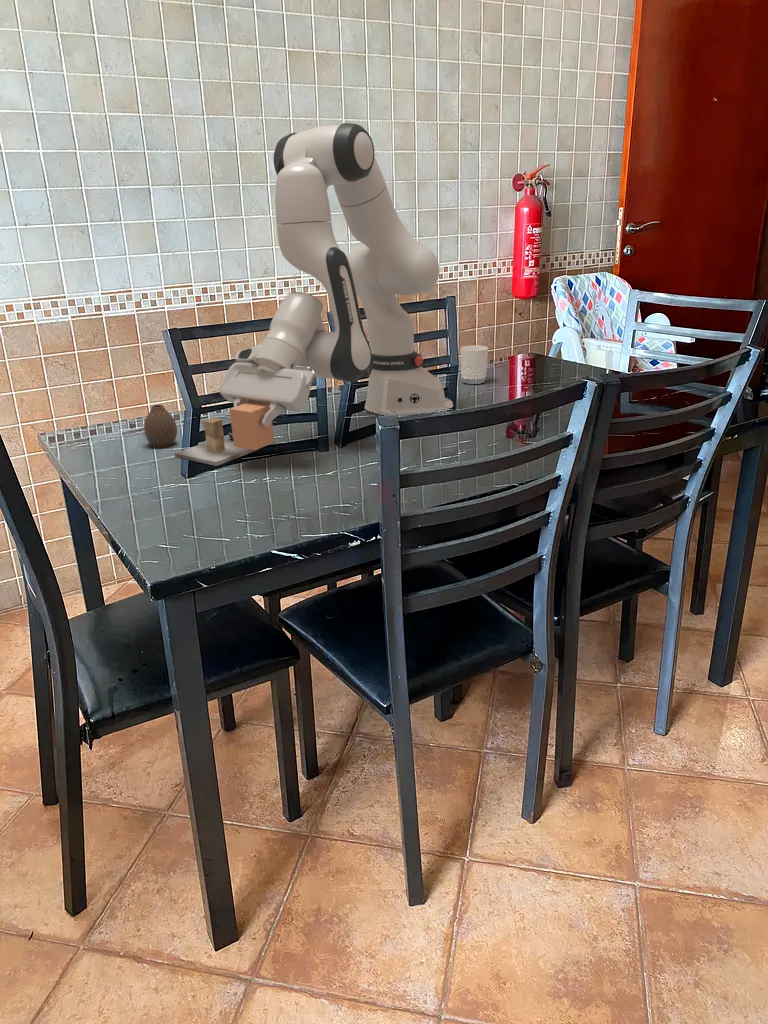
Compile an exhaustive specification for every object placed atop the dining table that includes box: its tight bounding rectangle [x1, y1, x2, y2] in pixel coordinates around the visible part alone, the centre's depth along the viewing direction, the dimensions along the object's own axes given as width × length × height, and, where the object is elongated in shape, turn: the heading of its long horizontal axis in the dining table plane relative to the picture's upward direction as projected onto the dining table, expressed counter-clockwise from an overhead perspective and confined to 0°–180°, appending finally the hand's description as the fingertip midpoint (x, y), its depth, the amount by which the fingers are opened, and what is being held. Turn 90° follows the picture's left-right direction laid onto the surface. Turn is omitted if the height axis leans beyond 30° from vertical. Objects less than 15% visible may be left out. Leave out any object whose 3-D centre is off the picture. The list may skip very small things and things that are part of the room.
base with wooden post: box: [174, 417, 258, 467], centre depth 157 cm, size 12×12×7 cm
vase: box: [143, 404, 178, 448], centre depth 163 cm, size 7×7×9 cm
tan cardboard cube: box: [228, 402, 275, 451], centre depth 148 cm, size 6×6×8 cm
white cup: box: [459, 345, 489, 380], centre depth 215 cm, size 8×8×10 cm
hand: (249, 423), depth 147 cm, fingers closed on tan cardboard cube, 6 cm apart
